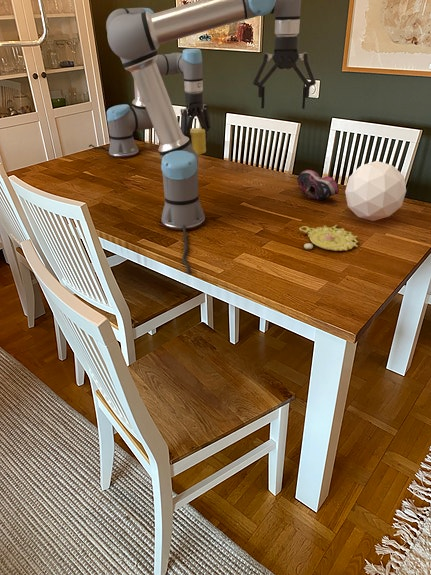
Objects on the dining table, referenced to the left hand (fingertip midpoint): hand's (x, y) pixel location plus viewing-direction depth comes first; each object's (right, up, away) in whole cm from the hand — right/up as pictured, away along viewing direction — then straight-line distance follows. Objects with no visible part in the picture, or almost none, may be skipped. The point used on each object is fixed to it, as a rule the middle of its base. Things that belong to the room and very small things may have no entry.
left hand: (196, 148), depth 192 cm
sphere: (+63, -36, -37) cm, 81 cm away
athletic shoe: (+46, -25, -18) cm, 55 cm away
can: (0, -1, +1) cm, 1 cm away
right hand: (+31, 0, -43) cm, 53 cm away
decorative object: (+44, -45, -51) cm, 81 cm away
